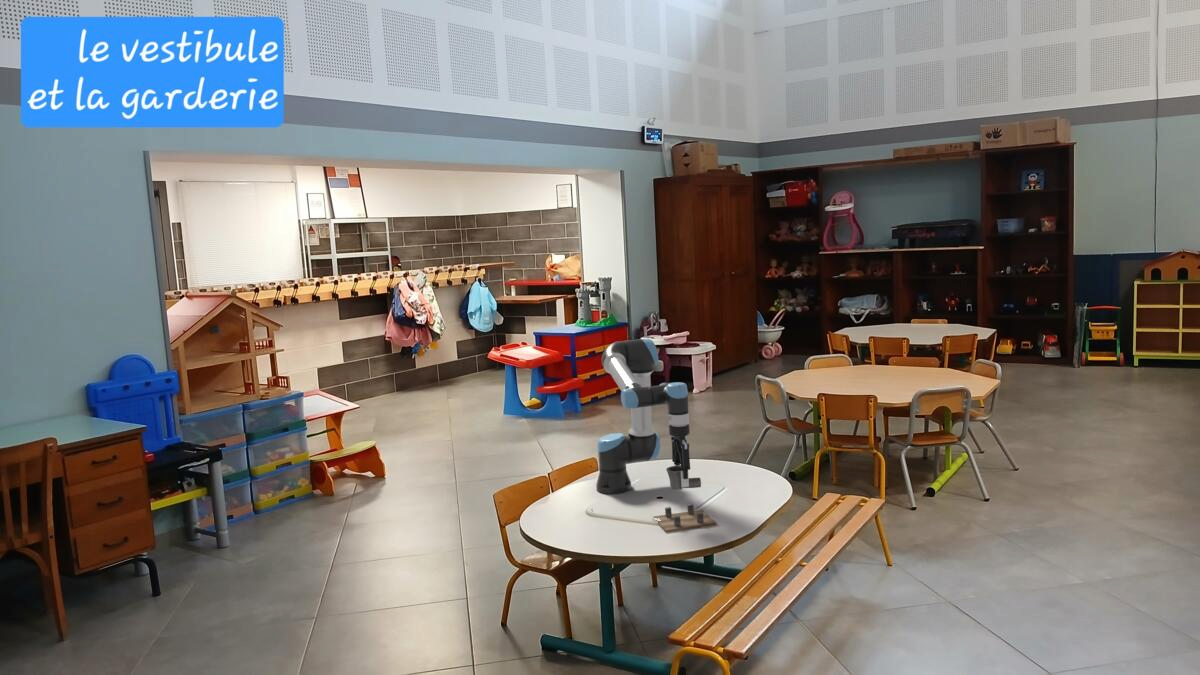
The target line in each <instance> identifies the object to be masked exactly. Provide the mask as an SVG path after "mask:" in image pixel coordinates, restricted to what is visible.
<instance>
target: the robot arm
mask: <svg viewBox="0 0 1200 675" xmlns="http://www.w3.org/2000/svg"><path fill="white" fill-rule="evenodd" d="M658 364H659V354H658V349H657V347H656V344H655V342H654V341H653V339H650V338H637V339H631V340H629V339H628V340H619V341H618V340H617V341H615V342H613V343H610V344H609V345H608V346H607V347H606V348H605V349H604V351H603V353H602V356H601V365H602V367H603V369H604V371H605V372H606V373H608V374H610V376H611V377H612V379H613V381H614V382H615V383H616V385H617V386H618V389H620V391H621V392H620V400H621V404H622V407H623V408H624V409H627V410H628V409H630V410H631V411H630V412H631V413H630V414H631V427H630V428H629V429H628V431H627V433H628V436H627V435H626V436H625V434H624V433H622V432H617V433H609V434H606V435H603V436H602V437H600V438H599V439H598V441H597V453H598V455H597V457H598V469H599V470H598V471H599V473H598V477H597V479H596V480H597V481H596V484H595V485H596V491H597V492H599V493H602V494H609V495H610V494H612V495H613V494H620V493H621V494H622V493H626V492H628V491H630V490H631V489H632V482H631V479H630V476H629V474H628V471H627V464H632V463H641V462H650V461H653V460H656V459H657V458H658V456H659V454H660V451H661V440H660V436H659V433H657V432H656V430H655V428H653V427H652V407H656V406H665V405H667V410H668V416H667V420H668V424H669V426H668V429H669V430H668V431H669V435H670V436H671V438H670V440H671V453H672V454H671V456H672V457H671V459H672V460H671V461H672V463H673V464H674V465H673V466H681V469H680V471H681V487H682V488H683V487H689V470H691V462H690V461H691V460H690V458H691V457H690V444H689V443H688V441H687V439H686V437H687V436H689V435H690V430H691V429H690V413H689V396H688V395H689V391H688V386H687V384H686V383H684V382H679V381H678V382H677V381H676V382H674V381H673V382H662V383H660V384H659V385H652V383H651V382H652V381H651V375H652V373H653V372H654V371H655V367H656V366H657V365H658ZM683 489H684V488H683Z"/></svg>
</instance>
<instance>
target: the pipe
mask: <svg viewBox="0 0 1200 675" xmlns="http://www.w3.org/2000/svg"><path fill="white" fill-rule="evenodd" d="M680 469H681V466H675V465H673V466H672V465H671V466H669V467H666V472H667V475H668V479H669V485H670V488H671V490H675V491H676V490H677V491H678V490H679V491H680V490H683V489H694V488H695V489H696V488H701V487H702V479H701V478H700V477H690V478H689V487H683V488H682V487H681V471H680Z"/></svg>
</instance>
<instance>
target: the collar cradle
mask: <svg viewBox="0 0 1200 675" xmlns="http://www.w3.org/2000/svg"><path fill="white" fill-rule="evenodd" d="M686 506H687V508H686V509H687V511H681V512H676V513H672V507H671V506H668V507H664V513H665V514H662V515H661V514H660V515H655V516H652V518H653V517H654V518H657V519H658V518H659V519H660V520H661V521H657V520H656V521H657V522H658V524H659V525H658V524H657V525H658V526H659V527H660V528H661V529H662V530H663V531H664V532H665V533H674V532H681V531H685V530H686V531H687V530H693V529H700V528H706V527H712V526H718V522H717V521H716V520H714V518H713V517H711V516H710V515H709V514H708V513H706V511H704V510H703V509H696V510H695V509H694V508H695V507H694V506H695V505H694V504H693V503H689V504H686Z"/></svg>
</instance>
